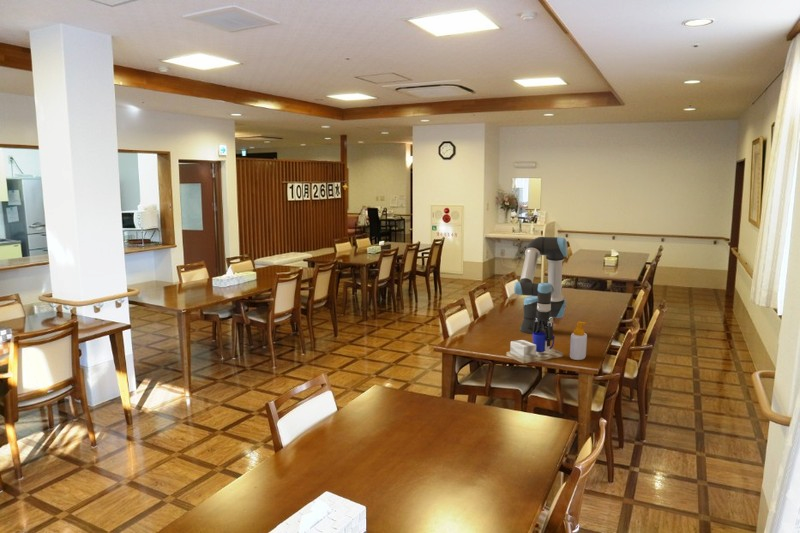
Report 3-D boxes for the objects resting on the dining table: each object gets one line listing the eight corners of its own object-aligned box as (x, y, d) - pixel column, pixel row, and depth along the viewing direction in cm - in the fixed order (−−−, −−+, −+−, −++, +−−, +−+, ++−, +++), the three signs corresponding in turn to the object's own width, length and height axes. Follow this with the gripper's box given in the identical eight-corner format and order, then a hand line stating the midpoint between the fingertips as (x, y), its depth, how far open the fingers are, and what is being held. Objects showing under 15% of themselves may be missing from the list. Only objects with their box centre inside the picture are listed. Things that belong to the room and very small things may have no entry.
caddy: (544, 349, 324) (545, 334, 323) (562, 356, 311) (563, 341, 310) (506, 355, 312) (506, 340, 311) (523, 363, 299) (524, 347, 297)
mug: (554, 353, 308) (555, 336, 306) (532, 352, 310) (533, 335, 308) (553, 349, 316) (554, 332, 314) (531, 348, 318) (532, 331, 316)
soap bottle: (582, 361, 302) (584, 325, 299) (567, 358, 307) (569, 323, 304) (588, 355, 314) (590, 320, 311) (573, 352, 318) (575, 318, 315)
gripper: (526, 307, 317) (525, 345, 321) (551, 314, 299) (549, 355, 303) (536, 306, 321) (535, 344, 324) (561, 313, 303) (559, 353, 306)
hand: (541, 349), depth 313 cm, fingers closed on mug, 8 cm apart
